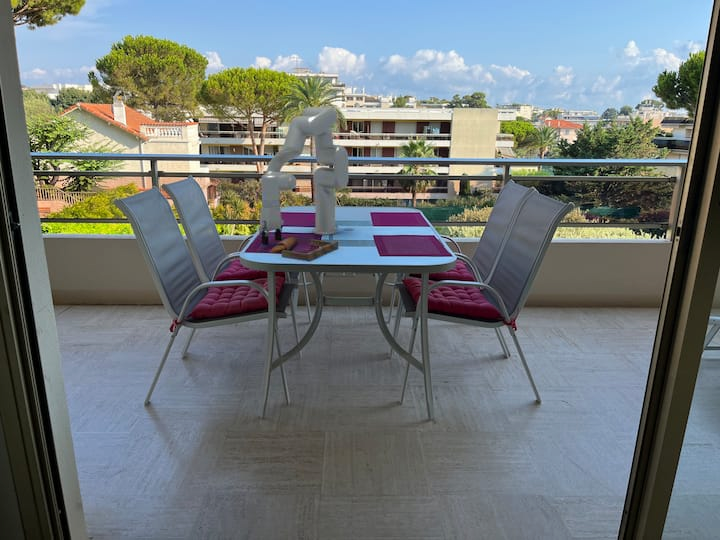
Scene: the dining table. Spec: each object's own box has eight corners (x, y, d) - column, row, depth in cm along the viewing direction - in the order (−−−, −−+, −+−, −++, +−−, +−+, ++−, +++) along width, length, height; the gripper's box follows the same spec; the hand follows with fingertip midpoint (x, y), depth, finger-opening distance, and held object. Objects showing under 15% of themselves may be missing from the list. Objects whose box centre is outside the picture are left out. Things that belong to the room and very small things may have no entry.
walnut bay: (311, 244, 237) (311, 238, 236) (338, 248, 232) (338, 241, 231) (281, 256, 216) (281, 249, 216) (309, 261, 211) (309, 254, 210)
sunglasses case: (279, 243, 238) (286, 230, 236) (292, 251, 239) (299, 239, 237) (268, 253, 221) (275, 240, 219) (282, 262, 222) (290, 249, 220)
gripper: (275, 200, 236) (276, 237, 241) (251, 205, 221) (252, 245, 226) (289, 201, 233) (290, 239, 238) (266, 207, 218) (267, 247, 223)
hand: (271, 242), depth 232 cm, fingers open, 9 cm apart
